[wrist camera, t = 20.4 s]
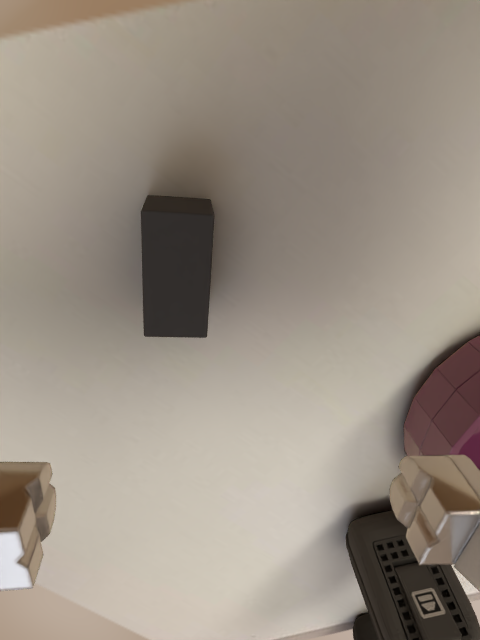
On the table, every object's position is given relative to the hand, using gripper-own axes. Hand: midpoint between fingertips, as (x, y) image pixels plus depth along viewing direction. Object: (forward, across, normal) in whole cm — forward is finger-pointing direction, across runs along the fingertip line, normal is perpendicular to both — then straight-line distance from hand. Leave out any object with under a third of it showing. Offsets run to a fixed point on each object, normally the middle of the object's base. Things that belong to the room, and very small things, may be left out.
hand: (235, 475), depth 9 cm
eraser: (+13, +2, 0) cm, 13 cm away
